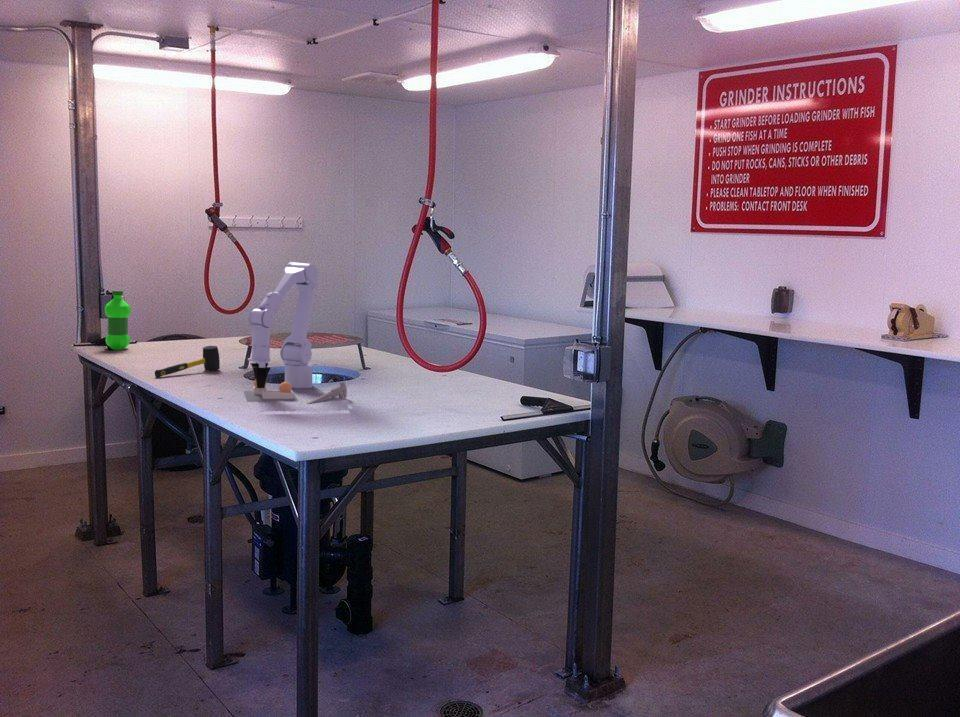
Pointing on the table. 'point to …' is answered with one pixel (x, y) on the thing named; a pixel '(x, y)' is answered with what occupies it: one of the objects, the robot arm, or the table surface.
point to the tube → (258, 390)
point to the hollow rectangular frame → (277, 394)
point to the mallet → (195, 362)
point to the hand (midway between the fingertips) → (260, 386)
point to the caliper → (332, 393)
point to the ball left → (285, 387)
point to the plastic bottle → (117, 321)
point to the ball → (256, 384)
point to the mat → (258, 398)
